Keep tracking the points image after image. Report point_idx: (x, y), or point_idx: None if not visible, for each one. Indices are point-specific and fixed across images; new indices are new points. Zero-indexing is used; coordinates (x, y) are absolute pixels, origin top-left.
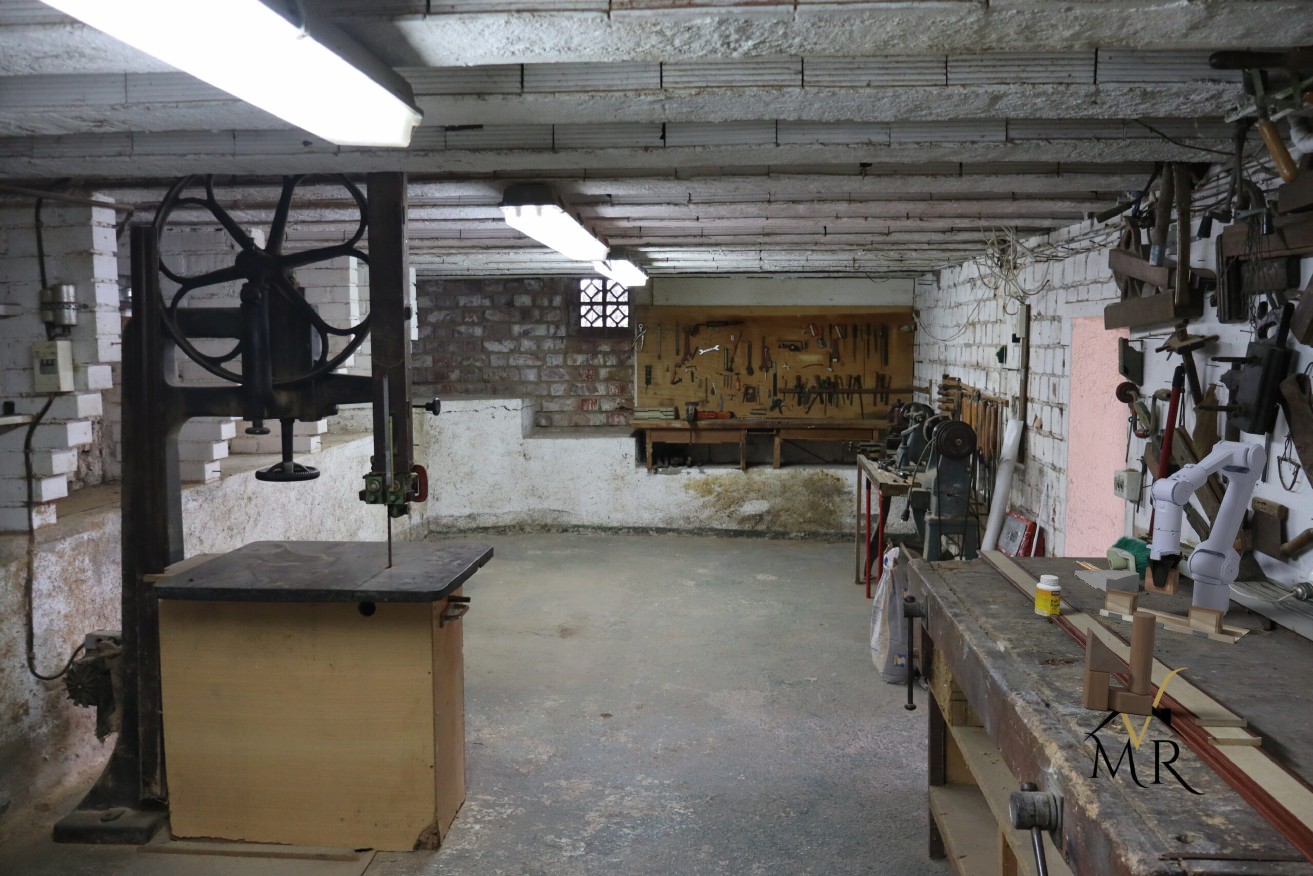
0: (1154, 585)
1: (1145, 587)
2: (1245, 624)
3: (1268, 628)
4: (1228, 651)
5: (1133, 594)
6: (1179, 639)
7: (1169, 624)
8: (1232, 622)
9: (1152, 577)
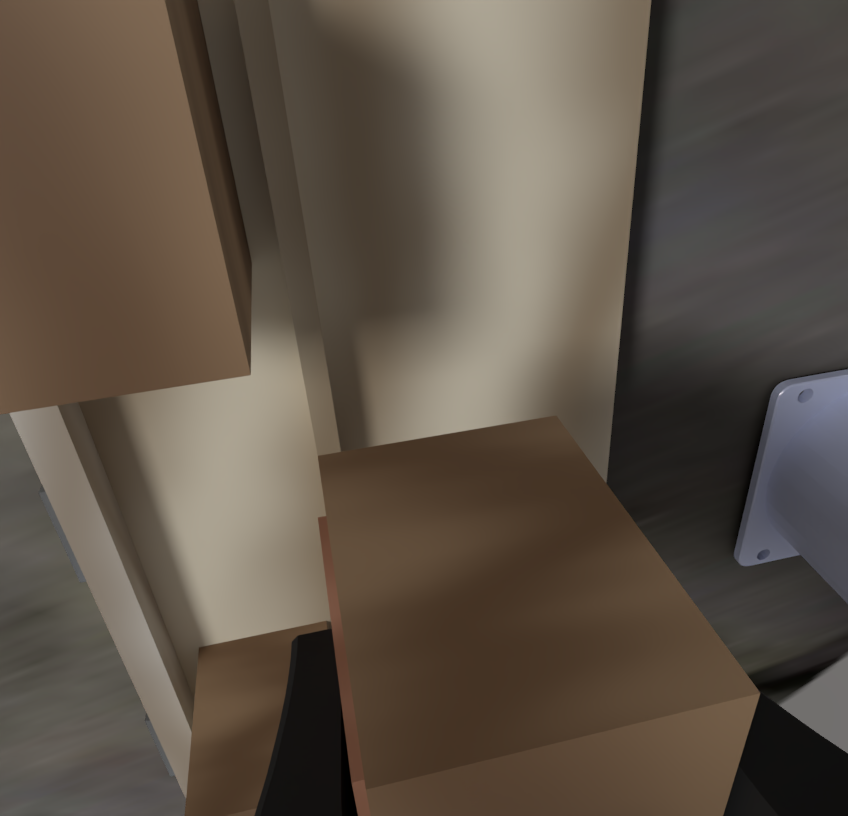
0: (295, 649)
1: (322, 487)
2: (784, 611)
3: (775, 677)
4: (142, 804)
5: (149, 353)
6: (83, 628)
7: (103, 615)
8: (783, 571)
9: (275, 747)
